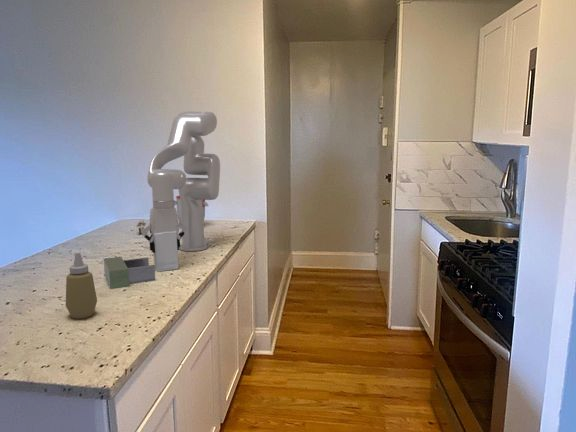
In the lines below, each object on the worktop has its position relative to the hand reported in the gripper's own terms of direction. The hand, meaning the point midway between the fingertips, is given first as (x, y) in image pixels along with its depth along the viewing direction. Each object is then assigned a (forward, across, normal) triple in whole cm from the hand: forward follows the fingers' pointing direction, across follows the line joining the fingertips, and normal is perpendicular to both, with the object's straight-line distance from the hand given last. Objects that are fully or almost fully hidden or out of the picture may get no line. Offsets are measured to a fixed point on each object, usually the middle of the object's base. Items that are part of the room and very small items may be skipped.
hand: (165, 250), depth 168 cm
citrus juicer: (+7, -31, -72) cm, 79 cm away
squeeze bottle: (+8, +31, +34) cm, 47 cm away
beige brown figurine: (+8, -3, -67) cm, 68 cm away
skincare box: (+7, 0, 0) cm, 7 cm away
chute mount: (+7, +14, +6) cm, 17 cm away
